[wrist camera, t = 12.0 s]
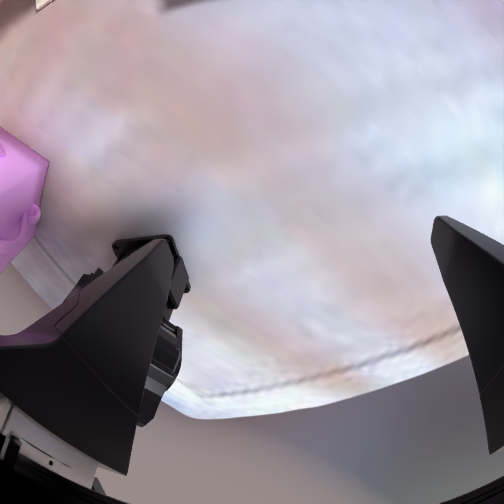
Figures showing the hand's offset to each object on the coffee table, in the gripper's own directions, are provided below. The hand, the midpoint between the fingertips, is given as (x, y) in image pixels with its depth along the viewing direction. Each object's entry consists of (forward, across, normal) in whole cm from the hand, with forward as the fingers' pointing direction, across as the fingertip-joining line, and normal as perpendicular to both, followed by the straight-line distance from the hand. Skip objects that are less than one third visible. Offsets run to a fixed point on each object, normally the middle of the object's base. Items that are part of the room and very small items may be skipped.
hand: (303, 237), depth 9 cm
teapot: (+13, +28, -2) cm, 31 cm away
